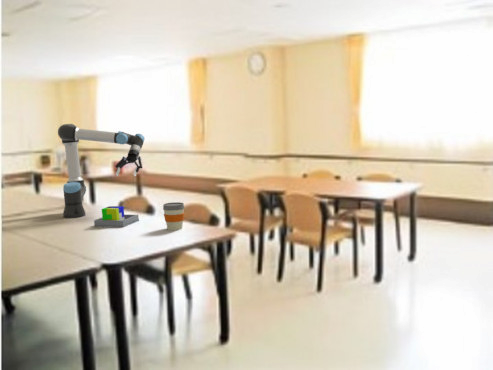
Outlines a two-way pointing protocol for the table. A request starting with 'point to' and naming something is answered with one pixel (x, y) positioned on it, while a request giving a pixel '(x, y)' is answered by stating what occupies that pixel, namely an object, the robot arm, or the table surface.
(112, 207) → the puzzle toy
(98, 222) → the tray
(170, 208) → the reusable coffee cup
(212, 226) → the table surface
